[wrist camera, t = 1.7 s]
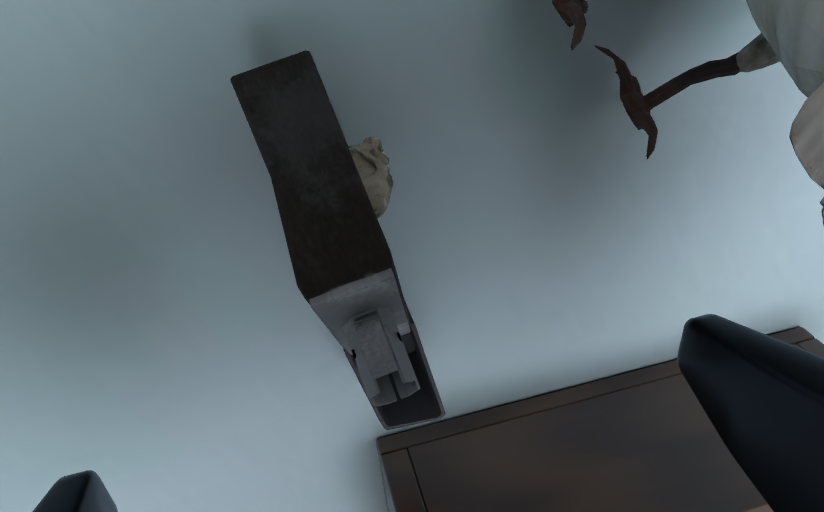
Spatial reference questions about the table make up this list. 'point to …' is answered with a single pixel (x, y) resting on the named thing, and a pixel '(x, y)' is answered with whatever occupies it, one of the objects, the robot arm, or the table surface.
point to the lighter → (339, 234)
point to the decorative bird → (743, 70)
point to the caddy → (577, 452)
